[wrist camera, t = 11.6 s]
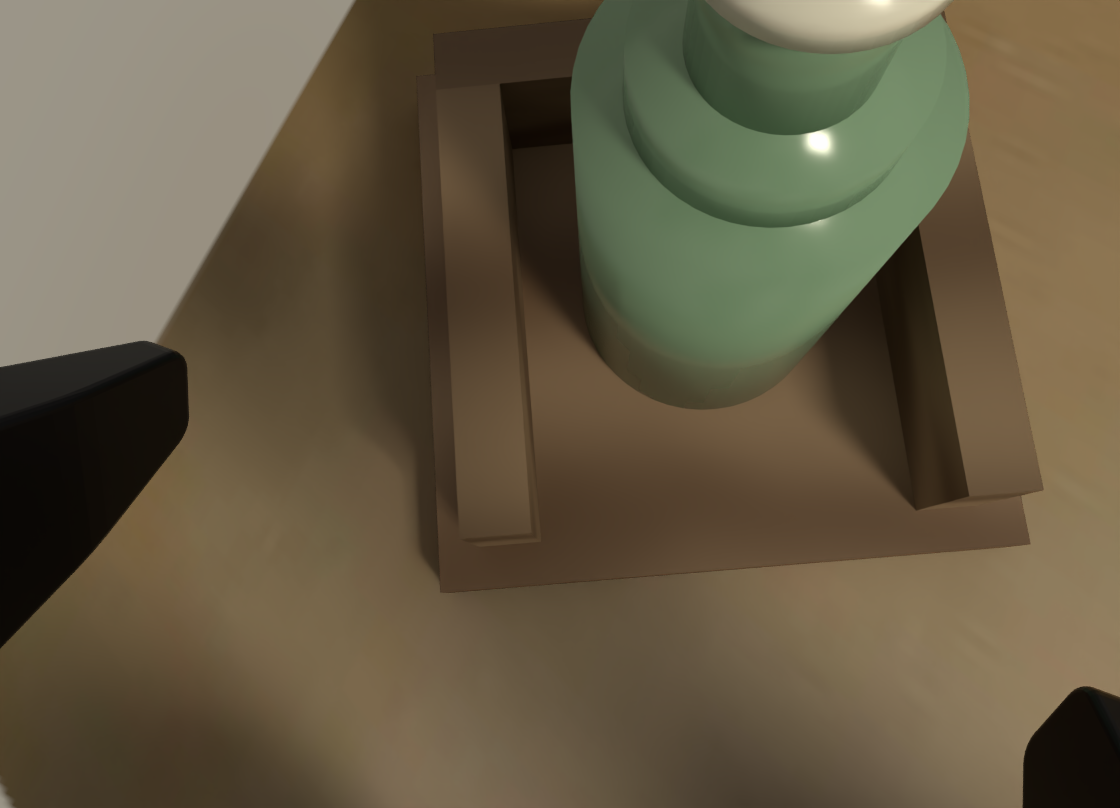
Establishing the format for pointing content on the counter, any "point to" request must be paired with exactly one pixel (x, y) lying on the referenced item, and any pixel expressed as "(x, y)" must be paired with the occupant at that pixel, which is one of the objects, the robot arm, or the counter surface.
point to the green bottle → (750, 176)
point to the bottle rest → (672, 432)
